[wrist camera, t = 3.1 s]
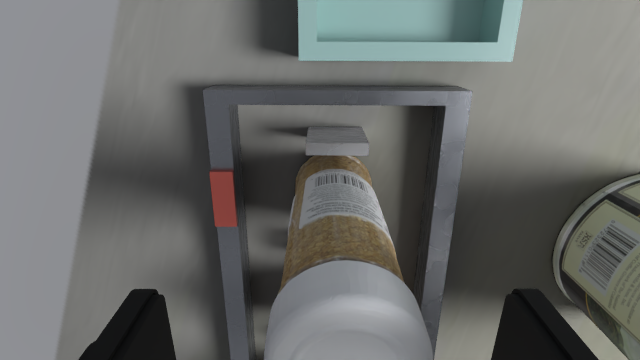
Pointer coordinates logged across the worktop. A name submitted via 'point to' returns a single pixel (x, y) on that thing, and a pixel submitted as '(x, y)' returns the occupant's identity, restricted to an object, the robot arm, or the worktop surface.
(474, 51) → the tray
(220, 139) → the frame
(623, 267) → the coffee can
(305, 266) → the sprinkles bottle
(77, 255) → the worktop surface
